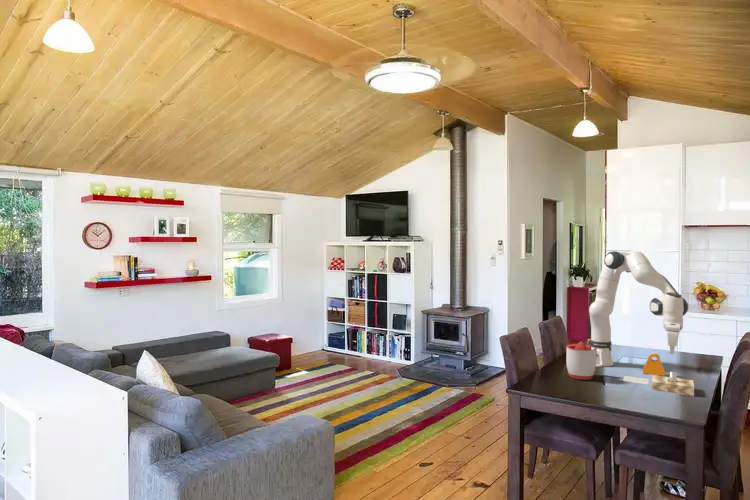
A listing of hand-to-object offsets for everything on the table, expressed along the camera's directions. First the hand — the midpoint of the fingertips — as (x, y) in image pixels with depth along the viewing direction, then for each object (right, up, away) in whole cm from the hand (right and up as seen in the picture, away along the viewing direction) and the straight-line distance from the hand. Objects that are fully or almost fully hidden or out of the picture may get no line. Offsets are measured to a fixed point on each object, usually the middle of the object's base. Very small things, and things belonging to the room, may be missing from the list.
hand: (672, 352), depth 259 cm
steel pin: (0, -19, 0) cm, 19 cm away
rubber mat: (-10, -19, +16) cm, 27 cm away
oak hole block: (0, -19, 0) cm, 19 cm away
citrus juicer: (-37, -19, +22) cm, 47 cm away
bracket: (+7, -19, +29) cm, 35 cm away
